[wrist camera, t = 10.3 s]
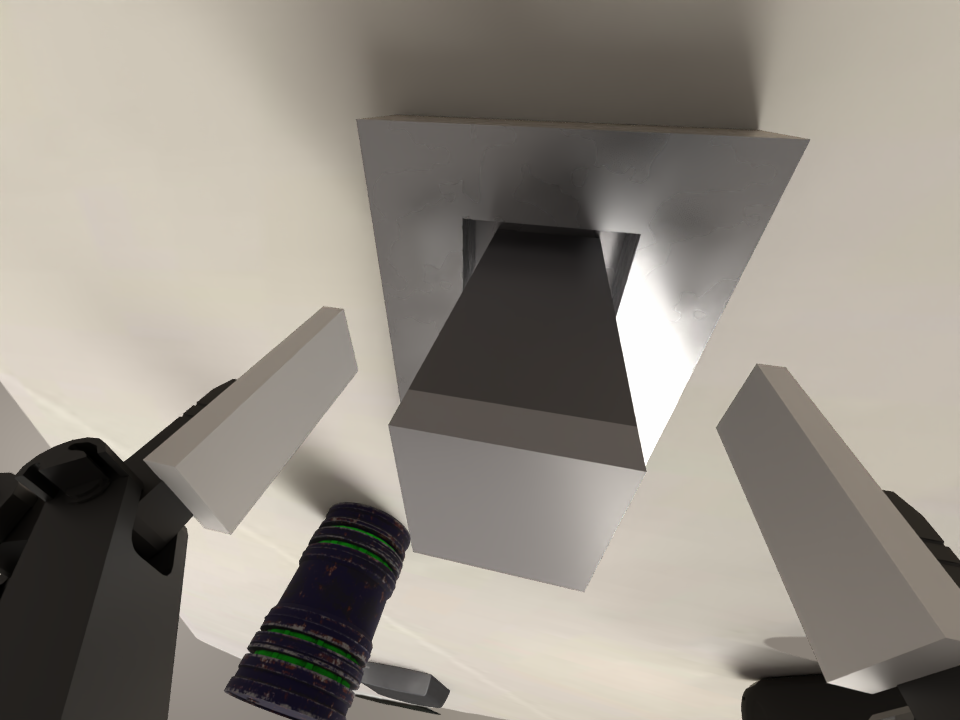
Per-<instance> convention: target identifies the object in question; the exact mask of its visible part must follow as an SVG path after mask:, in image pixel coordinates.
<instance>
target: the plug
mask: <svg viewBox="0 0 960 720" xmlns="http://www.w3.org/2000/svg"><path fill="white" fill-rule="evenodd" d="M388 426H389V431H390V436H391V441H392V446H393V452H394V457H395V462H396V467H397V472H398V477H399V482H400V487H401V492H402V497H403V503H404V508H405V513H406V518H407V523H408V528H409V533H410V538H411V543H412V548H413V552H416V553H420V554H424V555H428V556H433V557H437V558H441V559H445V560H450V561H454V562H458V563H462V564H467V565H471V566H475V567H479V568H484V569H488V570H492V571H496V572H501V573H505V574H509V575H513V576H518V577H522V578H526V579H530V580H535V581H539V582H543V583H547V584H551V585H556V586H560V587H564V588H568V589H573V590H577V591H581V592H585V590H586V588H587V586H588V584H589V582H590V580H591V578H592V576H593V574H594V572H595V570H596V568H597V566H598V565H599V563H600V561H601V559H602V557H603V555H604V553H605V551H606V549H607V547H608V545H609V543H610V541H611V540H612V538H613V536H614V534H615V532H616V530H617V528H618V526H619V524H620V522H621V520H622V518H623V516H624V514H625V513H626V511H627V509H628V507H629V505H630V503H631V501H632V499H633V497H634V495H635V493H636V491H637V489H638V487H639V486H640V484H641V482H642V480H643V478H644V476H645V474H646V466H645V461H644V456H643V451H642V446H641V441H640V436H639V431H638V426H637V421H636V416H635V411H634V406H633V401H632V396H631V391H630V386H629V381H628V376H627V371H626V366H625V361H624V356H623V351H622V346H621V341H620V336H619V331H618V326H617V321H616V316H615V311H614V306H613V301H612V296H611V291H610V286H609V281H608V276H607V271H606V265H605V260H604V255H603V250H602V245H601V240H600V238H590V237H578V236H567V235H556V234H545V233H533V232H522V231H511V230H500V229H497V231H496V232H495V234H494V236H493V238H492V240H491V241H490V243H489V245H488V247H487V249H486V250H485V252H484V254H483V256H482V258H481V259H480V261H479V263H478V265H477V267H476V268H475V270H474V272H473V274H472V276H471V277H470V279H469V281H468V283H467V285H466V286H465V288H464V290H463V292H462V294H461V295H460V297H459V299H458V301H457V302H456V304H455V306H454V308H453V310H452V311H451V313H450V315H449V317H448V319H447V320H446V322H445V324H444V326H443V328H442V329H441V331H440V333H439V335H438V337H437V338H436V340H435V342H434V344H433V346H432V347H431V349H430V351H429V353H428V355H427V356H426V358H425V360H424V362H423V364H422V365H421V367H420V369H419V371H418V373H417V374H416V376H415V378H414V380H413V382H412V383H411V385H410V387H409V389H408V391H407V392H406V394H405V396H404V398H403V400H402V401H401V403H400V405H399V407H398V409H397V410H396V412H395V414H394V416H393V418H392V419H391V421H390V423H389V425H388Z"/></svg>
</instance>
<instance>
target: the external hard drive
mask: <svg viewBox="0 0 960 720" xmlns="http://www.w3.org/2000/svg"><path fill="white" fill-rule="evenodd" d="M363 670H364V675H363V676H362V677H363V678H362V681H361V683H363V684H364V685H366V686H367V687H369V688H370V689H372V690H373V691H375V692H376V693H377V694H380V695H383V696H386V697H389V698H392V699H396V700H399V701H403V702H407V703H411V704H416V705H422V706H428V707H435V708H441V707H442V706H443V705H444V703H445V701H446V699H447V697H448V695H449V693H450V690H449V689H447V688H446V687H445V686H444V685H443V684H442V683H440V682H439V681H438V680H437V679H436V678H434V677H433V676H432V675H431V674H427V673H423V672H418V671H414V670H409V669H404V668H399V667H395V666H389V665H384V664H378V663H373V662H367V664H366V667H365V668H363Z"/></svg>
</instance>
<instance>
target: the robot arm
mask: <svg viewBox="0 0 960 720" xmlns="http://www.w3.org/2000/svg"><path fill="white" fill-rule="evenodd" d="M357 372H358V367H357V363H356V359H355V355H354V350H353V346H352V342H351V338H350V334H349V330H348V325H347V321H346V317H345V313H344V309H340V308H332V307H325V306H323V307H322V308H321V309H320V310H319V311H317V312H316V313H315V314H314V315H313V316H312V317H310V318H309V319H308V320H307V321H306V322H305V323H303V324H302V325H301V326H300V327H299V328H297V329H296V330H295V331H294V332H293V333H292V334H290V335H289V336H288V337H287V338H286V339H285V340H283V341H282V342H281V343H280V344H279V345H277V346H276V347H275V348H274V349H273V350H272V351H270V352H269V353H268V354H267V355H266V356H264V357H263V358H262V359H261V360H260V361H259V362H257V363H256V364H255V365H254V366H253V367H252V368H250V369H249V370H248V371H247V372H246V373H244V374H243V375H242V376H241V377H240V378H239V379H237V380H236V379H232V380H230V381H228V382H226V383H224V384H222V385H220V386H218V387H216V388H215V389H213V390H211V391H210V392H209V393H208V394H207V395H205V396H204V397H203V398H202V399H200V400H199V401H198V402H197V405H196V406H194V405H193V406H192V407H191V408H189V409H188V410H187V411H186V412H185V413H183V416H182V417H179V418H177V419H176V420H175V421H174V422H172V423H171V424H170V425H169V426H168V427H166V428H165V429H164V430H163V431H161V432H160V433H159V434H158V435H157V436H155V437H154V438H153V439H152V440H150V441H149V442H148V443H147V444H146V445H144V446H143V447H142V448H141V449H139V450H138V451H137V452H136V453H135V454H133V455H132V456H131V457H130V458H128V459H127V460H126V461H124V462H123V461H122V460H121V459H120V458H119V457H118V456H117V455H116V454H115V453H114V452H113V451H112V450H111V449H110V447H109V446H108V445H107V444H106V443H104V442H103V441H102V440H101V439H99V438H89V437H87V438H81V439H76V440H71V441H68V442H66V443H63V444H60V445H57V446H55V447H53V448H51V449H49V450H47V451H45V452H43V453H41V454H39V455H38V456H36V457H35V458H34V459H32V460H31V461H30V462H28V463H27V464H26V465H24V466H23V467H22V468H21V469H20V471H19V472H18V473H17V474H16V475H14V474H12V473H0V573H1V575H0V720H167V719H168V710H169V701H170V692H171V683H172V674H173V666H174V665H173V664H174V656H175V648H176V639H177V629H178V621H179V612H180V603H181V594H182V585H183V576H184V567H185V558H186V549H187V540H188V533H187V528H186V527H185V526H184V525H185V524H186V523H187V522H188V521H189V520H190V519H191V517H192V516H194V517H195V518H196V520H197V521H198V522H199V523H200V524H201V525H202V526H203V527H204V528H206V529H210V530H214V531H218V532H222V533H226V534H230V535H231V534H232V533H233V531H234V530H235V529H236V528H237V526H238V525H239V524H240V522H241V521H242V520H243V519H244V517H245V516H246V515H247V513H248V512H249V511H250V510H251V508H252V507H253V506H254V504H255V503H256V502H257V500H258V499H259V498H260V497H261V495H262V494H263V493H264V491H265V490H266V489H267V488H268V486H269V485H270V484H271V482H272V481H273V480H274V479H275V477H276V476H277V475H278V473H279V472H280V471H281V470H282V468H283V467H284V466H285V464H286V463H287V462H288V461H289V459H290V458H291V457H292V455H293V454H294V453H295V452H296V450H297V449H298V448H299V446H300V445H301V444H302V442H303V441H304V440H305V439H306V437H307V436H308V435H309V433H310V432H311V431H312V430H313V428H314V427H315V426H316V424H317V423H318V422H319V421H320V419H321V418H322V417H323V415H324V414H325V413H326V412H327V410H328V409H329V408H330V406H331V405H332V404H333V403H334V401H335V400H336V399H337V397H338V396H339V395H340V393H341V392H342V391H343V390H344V388H345V387H346V386H347V384H348V383H349V382H350V381H351V379H352V378H353V377H354V375H355V374H356V373H357ZM716 429H717V431H718V433H719V436H720V438H721V440H722V442H723V445H724V447H725V449H726V452H727V454H728V456H729V459H730V461H731V463H732V466H733V468H734V470H735V472H736V475H737V477H738V479H739V482H740V484H741V486H742V489H743V491H744V493H745V495H746V498H747V500H748V502H749V505H750V507H751V509H752V512H753V514H754V516H755V519H756V521H757V523H758V525H759V528H760V530H761V532H762V535H763V537H764V539H765V542H766V544H767V546H768V548H769V551H770V553H771V555H772V558H773V560H774V562H775V565H776V567H777V569H778V572H779V574H780V576H781V578H782V581H783V583H784V585H785V588H786V590H787V592H788V595H789V597H790V599H791V601H792V604H793V606H794V608H795V611H796V613H797V615H798V618H799V620H800V622H801V624H802V627H803V629H804V631H805V634H806V636H807V638H808V641H809V643H810V645H811V647H812V650H813V652H814V654H815V657H816V659H817V661H818V664H819V666H820V668H821V671H822V673H823V675H824V677H825V680H826V682H827V683H830V684H834V685H838V686H842V687H846V688H850V689H854V690H858V691H862V692H866V693H870V694H874V693H878V692H881V691H884V690H887V689H891V688H894V687H898V688H899V690H900V692H901V694H902V696H903V698H904V699H905V701H906V703H907V705H908V706H905V707H901V708H897V709H893V710H889V711H886V712H882V713H878V714H874V715H872V716H871V717H870V719H869V720H960V560H959V559H958V558H957V556H956V555H955V554H954V553H953V552H952V550H951V549H950V548H949V547H946V546H944V541H943V540H942V538H941V537H940V536H939V535H938V534H937V532H936V531H935V530H934V529H933V528H932V526H931V525H930V524H929V523H928V522H927V520H926V519H925V518H924V517H923V516H922V515H921V514H920V513H919V512H917V511H916V510H915V509H914V508H913V507H911V506H910V505H909V504H908V503H906V502H905V501H904V500H903V499H902V498H900V497H899V496H898V495H897V494H895V493H894V492H891V491H885V490H882V489H881V488H880V487H879V485H878V484H877V483H876V482H875V480H874V479H873V478H872V477H871V475H870V474H869V473H868V471H867V470H866V469H865V468H864V466H863V465H862V464H861V463H860V461H859V460H858V459H857V457H856V456H855V455H854V454H853V452H852V451H851V450H850V449H849V447H848V446H847V445H846V443H845V442H844V441H843V440H842V438H841V437H840V436H839V435H838V433H837V432H836V431H835V429H834V428H833V427H832V426H831V424H830V423H829V422H828V421H827V419H826V418H825V417H824V415H823V414H822V413H821V412H820V410H819V409H818V408H817V407H816V405H815V404H814V403H813V401H812V400H811V399H810V398H809V396H808V395H807V394H806V393H805V391H804V390H803V389H802V387H801V386H800V385H799V384H798V382H797V381H796V380H795V379H794V377H793V376H792V375H791V373H790V372H789V371H788V370H787V368H786V367H779V366H771V365H763V364H756V366H755V367H754V369H753V370H752V372H751V373H750V375H749V377H748V378H747V380H746V381H745V383H744V384H743V386H742V388H741V389H740V391H739V392H738V394H737V395H736V397H735V399H734V400H733V402H732V403H731V405H730V406H729V408H728V410H727V411H726V413H725V414H724V416H723V417H722V419H721V421H720V422H719V424H718V425H717V427H716Z"/></svg>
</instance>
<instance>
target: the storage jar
mask: <svg viewBox="0 0 960 720" xmlns="http://www.w3.org/2000/svg"><path fill="white" fill-rule="evenodd" d="M410 540H411V538H410V534H409V532H408V531H407V529H406V528H405V527H404V526H403V525H402V524H401V523H400V522H399V521H398V520H396V519H395V518H393V517H392V516H390V515H388V514H387V513H385V512H383V511H380V510H378V509H376V508H373V507H370V506H367V505H363V504H358V503H339V504H336V505H334V506H332V507H331V508H330V510H329V511H328V513H327V515H326V519H325V520H324V521H323V522H322V523H321V525H320V527H319V529H318V530H316V531H315V533H314V535H313V537H312V538H311V540H310V542H309V546H308V547H307V548H306V550H305V551H304V552H303V554H302V557H301V558H300V560H299V568H298V569H297V571H296V573H295V575H294V576H293V578H292V580H291V582H290V583H289V585H288V587H287V588H286V590H285V592H284V594H283V595H282V597H281V599H280V601H279V602H278V604H277V605H276V606H275V607H273V608H272V609H271V610H270V612H269V614H268V615H267V616H265V620H264V622H263V624H262V626H261V627H260V629H261V631H258V632H256V634H255V636H254V637H253V639H252V641H251V642H250V645H249V646H248V648H247V649H248V651H249V652H250V653H248V654H245V655H244V657H243V659H242V661H241V662H240V664H239V669H238V671H237V673H236V674H235V676H233V677H232V678H231V679H230V681H229V683H228V684H227V686H226V688H225V690H224V691H225V692H226V693H227V694H229V695H231V696H233V697H235V698H237V699H240V700H242V701H244V702H247V703H249V704H251V705H254V706H257V707H259V708H261V709H264V710H267V711H269V712H272V713H275V714H277V715H280V716H283V717H286V718H289V719H292V720H346V717H345V716H346V713H347V710H348V708H349V707H351V704H352V702H353V699H354V696H355V693H354V692H353V691H352V690H358V689H359V685H360V683H361V681H362V678H363V677H362V676H363V675H364V670H363V668H365V667H366V664H367V662H368V659H369V658H370V653H371V650H372V648H373V647H372V639H373V636H374V634H375V631H376V628H377V625H378V623H379V620H380V617H381V614H382V612H383V609H384V606H385V604H386V601H387V599H389V598H390V597H391V595H392V593H393V591H394V589H395V584H396V580H397V579H398V578H399V575H400V572H401V569H402V566H403V563H402V562H403V560H404V558H405V551H406V550H407V549H408V547H409V544H410Z"/></svg>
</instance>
